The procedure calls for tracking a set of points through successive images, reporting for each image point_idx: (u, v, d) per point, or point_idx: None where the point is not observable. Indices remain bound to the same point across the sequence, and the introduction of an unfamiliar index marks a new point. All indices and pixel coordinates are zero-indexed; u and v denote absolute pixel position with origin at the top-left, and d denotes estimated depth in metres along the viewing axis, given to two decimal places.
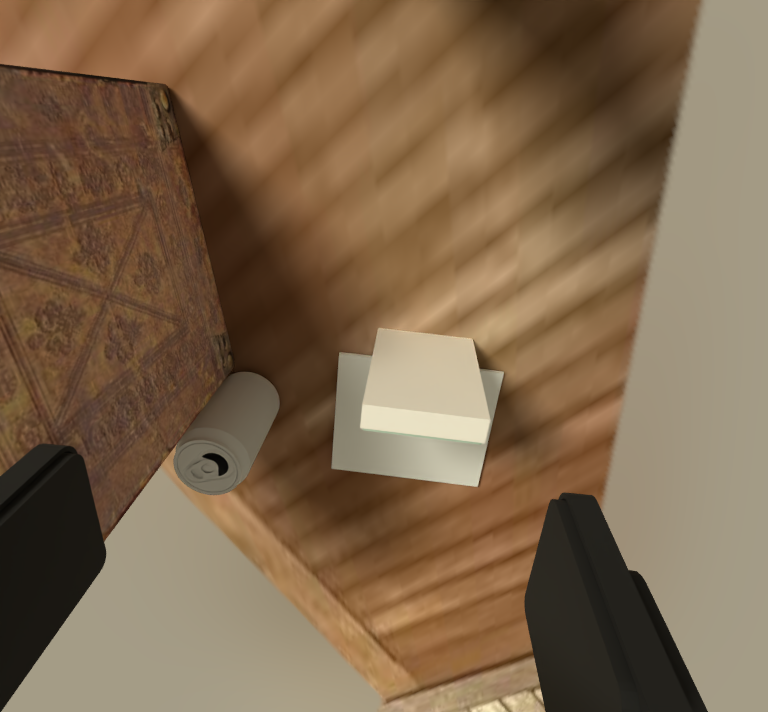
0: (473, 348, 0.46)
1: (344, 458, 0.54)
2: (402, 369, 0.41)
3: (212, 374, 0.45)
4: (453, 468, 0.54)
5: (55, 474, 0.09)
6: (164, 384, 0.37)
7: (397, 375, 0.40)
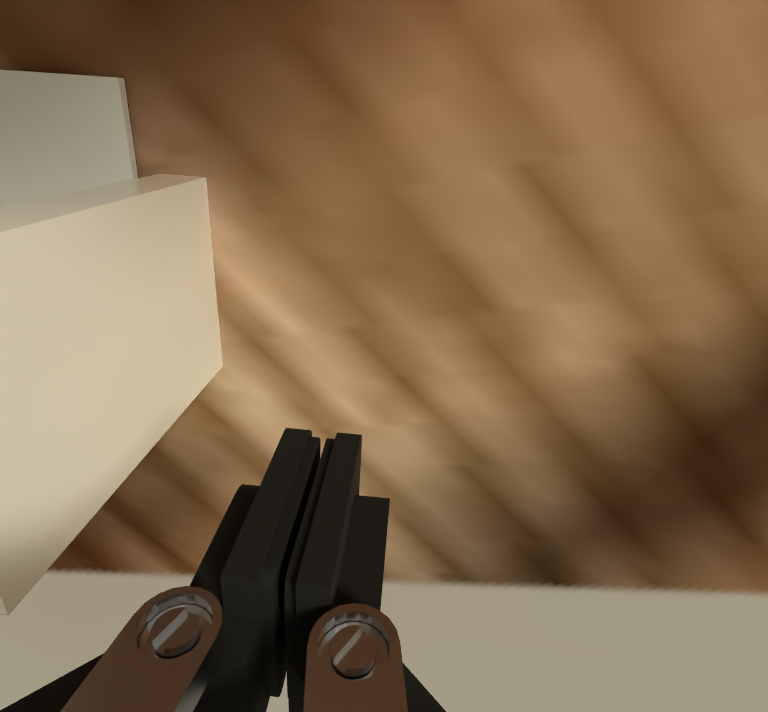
0: (204, 385, 0.23)
1: None
2: (102, 296, 0.15)
3: None
4: None
5: (313, 455, 0.10)
6: None
7: (77, 299, 0.14)
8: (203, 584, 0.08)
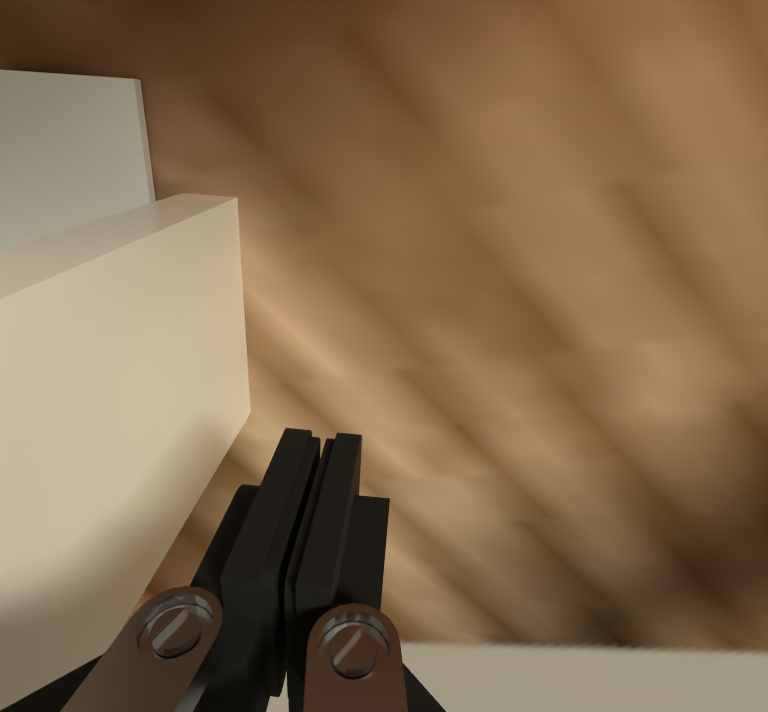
0: (232, 439, 0.20)
1: None
2: (127, 362, 0.12)
3: None
4: None
5: (313, 455, 0.10)
6: None
7: (97, 371, 0.11)
8: (203, 584, 0.08)
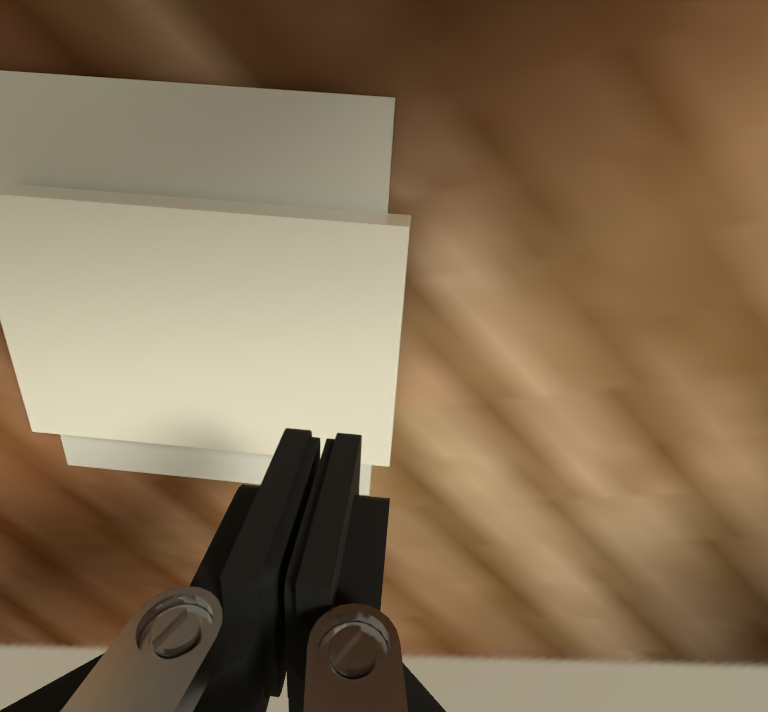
0: None
1: (22, 116, 0.17)
2: (159, 286, 0.17)
3: None
4: None
5: (313, 455, 0.10)
6: None
7: (125, 274, 0.17)
8: (203, 584, 0.08)
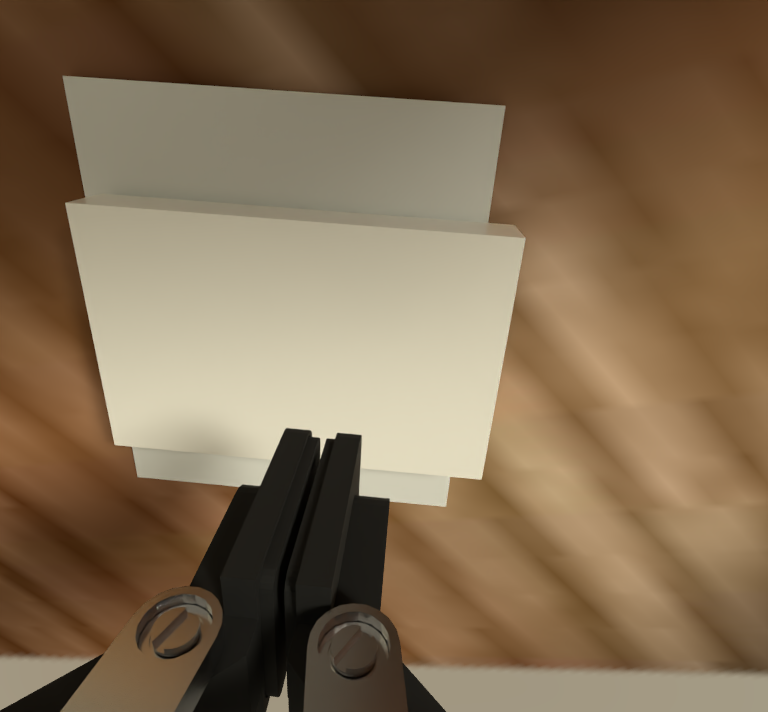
0: (422, 471, 0.19)
1: (117, 125, 0.17)
2: (260, 298, 0.16)
3: None
4: None
5: (313, 455, 0.10)
6: None
7: (226, 286, 0.16)
8: (203, 584, 0.08)
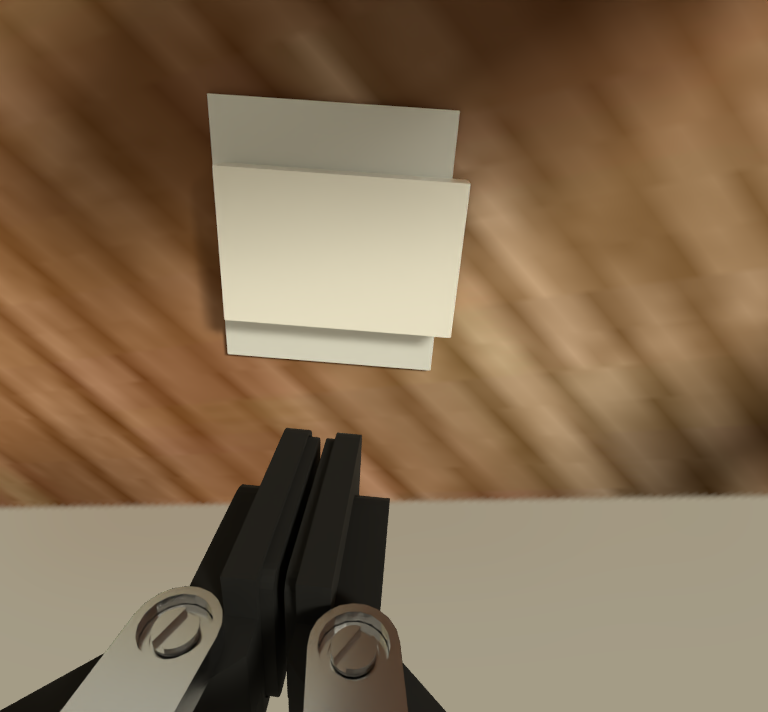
0: (414, 333, 0.31)
1: (236, 121, 0.28)
2: (320, 221, 0.28)
3: None
4: None
5: (313, 454, 0.10)
6: None
7: (300, 214, 0.28)
8: (203, 584, 0.08)
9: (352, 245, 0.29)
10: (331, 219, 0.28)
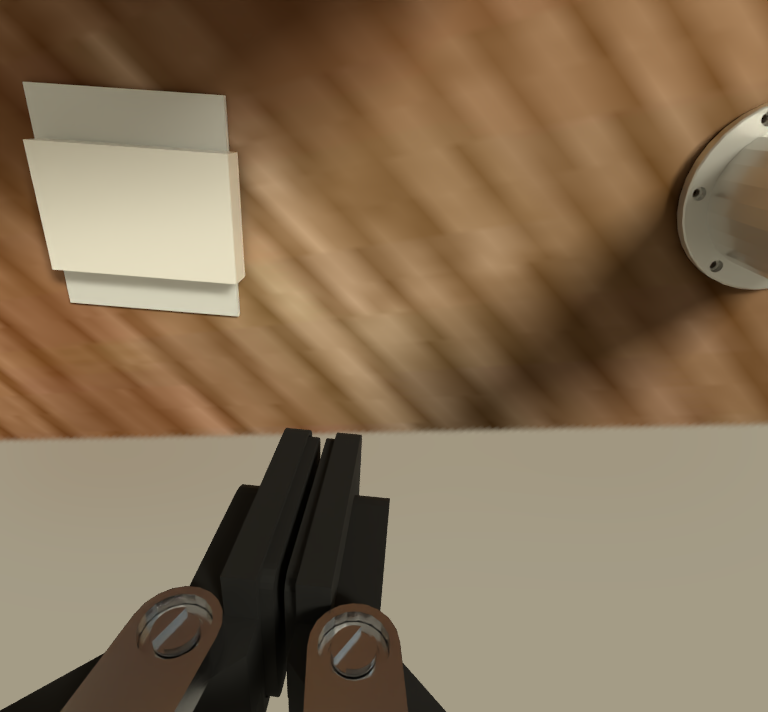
0: (206, 280, 0.37)
1: (48, 104, 0.35)
2: (115, 185, 0.35)
3: None
4: None
5: (313, 455, 0.10)
6: None
7: (99, 179, 0.35)
8: (203, 584, 0.08)
9: (144, 205, 0.35)
10: (123, 183, 0.35)
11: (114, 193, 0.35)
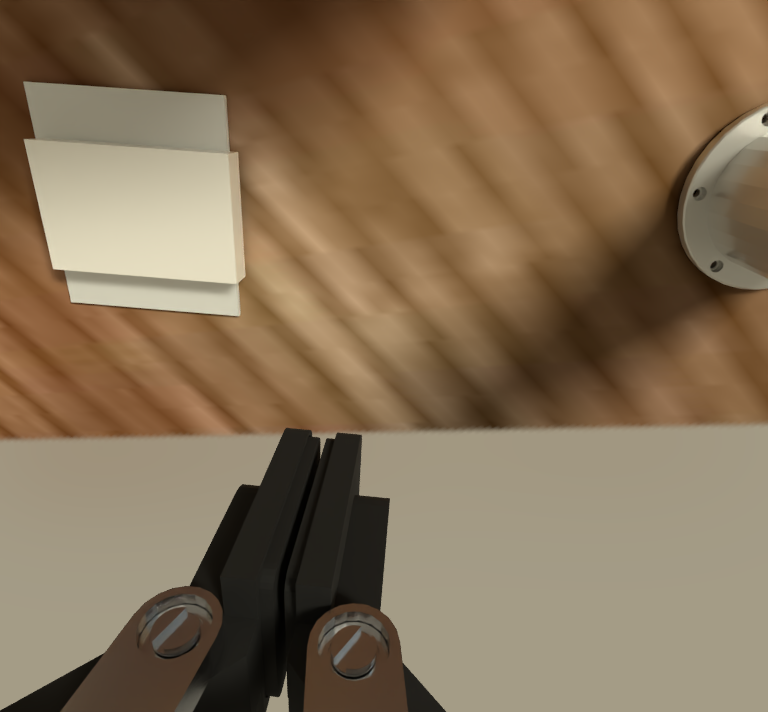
0: (207, 280, 0.37)
1: (49, 104, 0.35)
2: (116, 185, 0.35)
3: None
4: None
5: (313, 455, 0.10)
6: None
7: (99, 179, 0.35)
8: (203, 584, 0.08)
9: (144, 205, 0.35)
10: (124, 183, 0.35)
11: (115, 193, 0.35)
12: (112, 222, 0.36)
